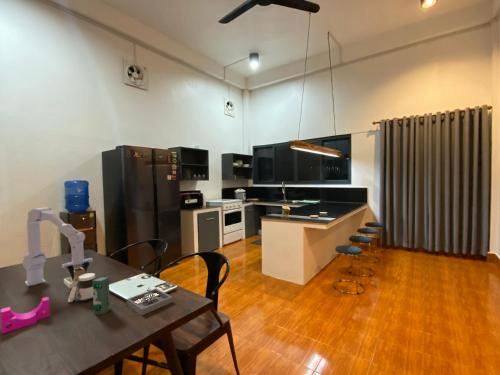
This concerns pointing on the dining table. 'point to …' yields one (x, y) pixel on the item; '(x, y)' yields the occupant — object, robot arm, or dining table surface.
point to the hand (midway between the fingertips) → (78, 277)
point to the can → (101, 295)
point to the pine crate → (78, 273)
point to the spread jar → (83, 288)
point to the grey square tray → (149, 307)
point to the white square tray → (70, 282)
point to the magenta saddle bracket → (23, 316)
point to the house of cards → (151, 298)
